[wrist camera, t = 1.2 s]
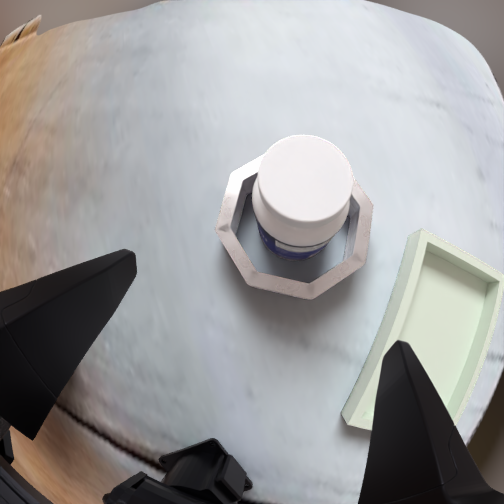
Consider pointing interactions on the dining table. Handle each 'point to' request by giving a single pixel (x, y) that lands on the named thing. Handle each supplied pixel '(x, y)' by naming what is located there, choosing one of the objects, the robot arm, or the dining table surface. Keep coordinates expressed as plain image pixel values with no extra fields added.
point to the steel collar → (227, 231)
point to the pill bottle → (301, 196)
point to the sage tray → (434, 323)
